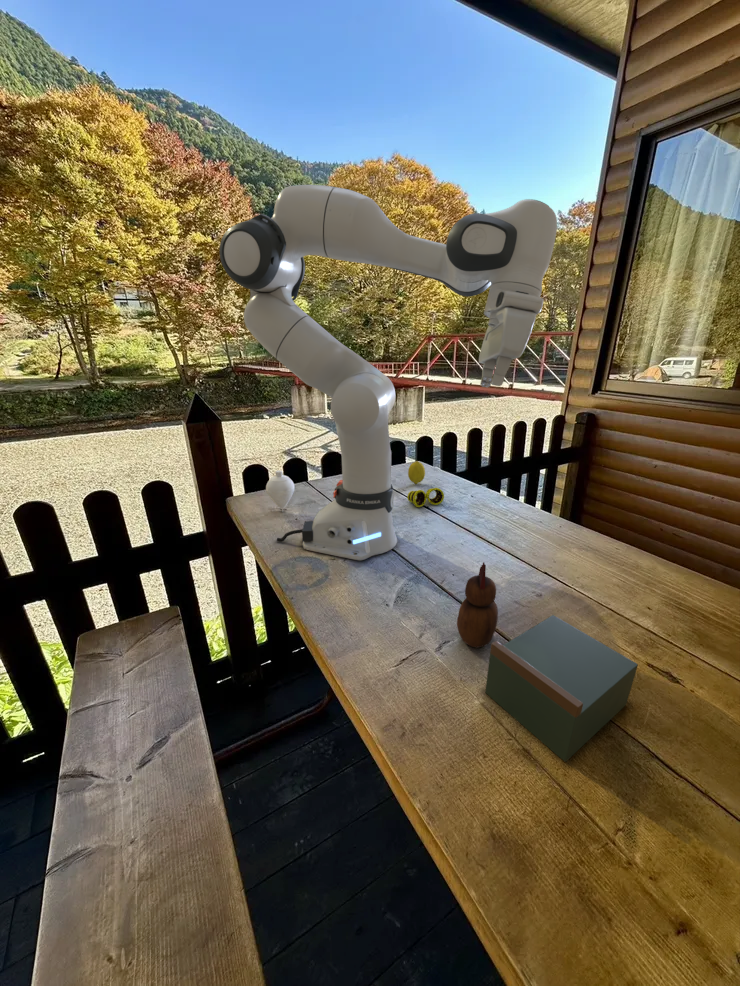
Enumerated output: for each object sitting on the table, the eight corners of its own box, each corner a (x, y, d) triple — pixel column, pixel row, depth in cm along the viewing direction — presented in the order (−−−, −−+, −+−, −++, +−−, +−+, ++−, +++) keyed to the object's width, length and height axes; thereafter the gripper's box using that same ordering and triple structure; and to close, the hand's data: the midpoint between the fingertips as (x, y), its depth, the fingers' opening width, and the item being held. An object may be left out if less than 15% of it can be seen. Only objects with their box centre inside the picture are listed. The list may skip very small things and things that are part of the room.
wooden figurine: (486, 659, 62) (496, 574, 57) (450, 645, 65) (457, 563, 60) (499, 633, 68) (509, 554, 62) (465, 621, 71) (472, 544, 65)
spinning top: (276, 519, 110) (272, 477, 106) (264, 510, 116) (259, 470, 111) (301, 512, 115) (298, 471, 110) (288, 504, 120) (284, 465, 116)
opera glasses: (436, 501, 123) (436, 485, 123) (444, 504, 118) (444, 487, 118) (406, 505, 121) (406, 488, 120) (414, 508, 116) (413, 491, 115)
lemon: (423, 487, 132) (424, 464, 129) (406, 486, 133) (407, 463, 130) (425, 481, 137) (426, 459, 134) (408, 481, 138) (409, 458, 135)
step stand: (484, 692, 57) (491, 643, 54) (546, 651, 64) (554, 605, 61) (565, 762, 47) (578, 707, 44) (626, 705, 55) (641, 654, 51)
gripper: (481, 315, 83) (464, 384, 87) (508, 289, 63) (484, 380, 67) (512, 321, 83) (494, 390, 86) (548, 298, 63) (522, 388, 67)
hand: (490, 386), depth 76 cm, fingers open, 8 cm apart
